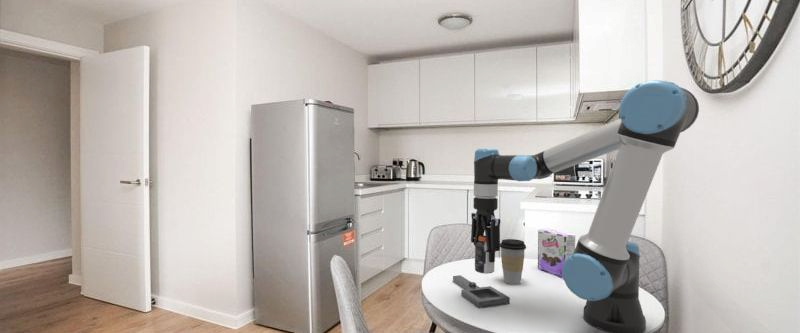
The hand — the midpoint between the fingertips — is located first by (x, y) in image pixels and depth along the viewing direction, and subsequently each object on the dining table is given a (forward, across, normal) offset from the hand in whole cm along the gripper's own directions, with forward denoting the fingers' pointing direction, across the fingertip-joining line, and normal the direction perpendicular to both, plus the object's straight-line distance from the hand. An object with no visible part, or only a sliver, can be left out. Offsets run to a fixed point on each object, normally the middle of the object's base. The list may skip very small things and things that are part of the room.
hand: (484, 268), depth 122 cm
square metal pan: (+10, +7, 0) cm, 12 cm away
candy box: (+10, +16, -42) cm, 46 cm away
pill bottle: (+1, 0, 0) cm, 1 cm away
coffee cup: (+10, +12, -19) cm, 25 cm away
